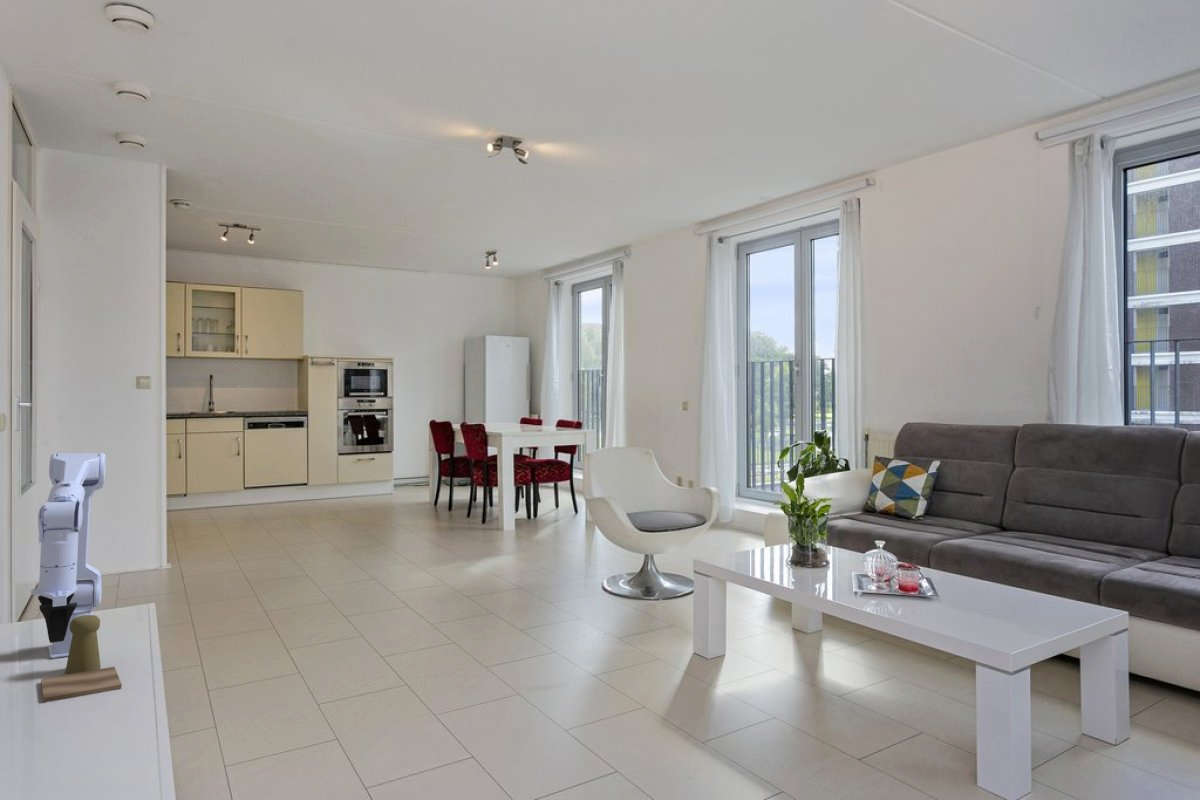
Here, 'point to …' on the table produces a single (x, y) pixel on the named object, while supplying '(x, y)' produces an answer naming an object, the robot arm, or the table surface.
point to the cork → (83, 645)
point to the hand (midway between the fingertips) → (55, 636)
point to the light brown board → (80, 684)
